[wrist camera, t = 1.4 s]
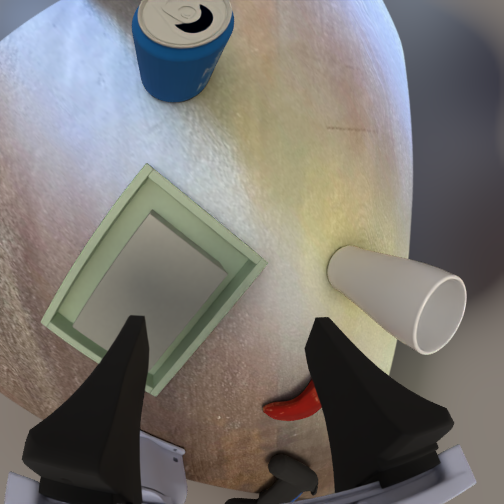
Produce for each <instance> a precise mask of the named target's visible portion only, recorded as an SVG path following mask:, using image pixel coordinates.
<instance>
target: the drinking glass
mask: <svg viewBox="0 0 504 504" xmlns="http://www.w3.org/2000/svg"><path fill="white" fill-rule="evenodd" d="M327 273H328V279H329V282H330V283H331V285H332V286H333V287H334V288H335V289H336V290H338V291H339V292H341V293H342V294H344V295H345V296H346V297H347V298H348V299H350V300H351V301H352V302H353V303H354V304H356V305H357V306H358V307H359V308H360V309H361V310H363V311H364V312H365V313H366V314H367V315H368V316H370V317H371V318H372V319H373V320H374V321H375V322H376V323H378V324H379V325H380V326H381V327H382V328H383V329H385V330H386V331H387V332H388V333H390V334H391V335H392V336H394V337H395V338H396V339H398V340H399V341H401V342H402V343H404V344H405V345H407V346H409V347H410V348H412V349H414V350H416V351H417V352H419V353H421V354H424V355H428V354H432V353H435V352H437V351H438V350H440V349H441V348H442V347H444V346H445V345H446V344H447V343H448V342H449V340H450V339H451V338H452V337H453V335H454V334H455V332H456V330H457V329H458V327H459V325H460V323H461V320H462V318H463V314H464V311H465V306H466V288H465V285H464V283H463V281H462V280H461V279H460V278H459V277H458V276H456V275H453V274H451V273H449V272H447V271H445V270H442V269H440V268H437V267H435V266H432V265H429V264H426V263H422V262H419V261H415V260H411V259H406V258H402V257H397V256H393V255H388V254H384V253H379V252H375V251H370V250H366V249H363V248H360V247H357V246H352V245H350V246H345V247H342V248H340V249H339V250H338V251H336V252H335V253H334V255H333V256H332V258H331V259H330V262H329V264H328V271H327Z"/></svg>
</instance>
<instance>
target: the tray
mask: <svg viewBox="0 0 504 504" xmlns="http://www.w3.org/2000/svg"><path fill="white" fill-rule="evenodd" d="M152 209H153V210H154V211H155V212H157V213H158V214H159V215H160V216H162V217H163V218H164V219H165V220H167V221H168V222H169V223H170V224H172V225H173V226H174V227H175V228H177V229H178V230H179V231H180V232H182V233H183V234H184V235H185V236H187V237H188V238H189V239H191V240H192V241H193V242H194V243H196V244H197V245H198V246H199V247H201V248H202V249H203V250H205V251H206V252H207V253H208V254H210V255H211V256H212V257H214V258H215V259H216V260H217V261H219V262H220V264H221V265H222V266H223V268H224V269H225V271H226V272H227V274H228V275H227V276H226V277H225V279H224V280H223V281H222V282H221V284H220V285H219V286H218V287H217V289H216V290H215V291H214V292H213V293H212V295H211V296H210V297H209V298H208V300H207V301H206V302H205V303H204V304H203V306H202V307H201V308H200V309H199V311H198V312H197V313H196V314H195V316H194V317H193V318H192V319H191V320H190V322H189V323H188V324H187V325H186V327H185V328H184V329H183V330H182V332H181V333H180V334H179V335H178V336H177V338H176V339H175V340H174V341H173V343H172V344H171V345H170V346H169V348H168V349H167V350H166V351H165V353H164V354H163V355H162V356H161V357H160V359H159V360H158V361H157V362H156V364H155V365H154V366H153V367H152V369H151V370H150V371H149V372H148V375H147V381H146V387H145V391H146V392H148V393H150V394H151V395H153V396H155V397H156V396H157V395H158V394H159V393H160V392H161V390H162V389H163V388H164V387H165V386H166V385H167V383H168V382H169V381H170V380H171V379H172V378H173V377H174V375H175V374H176V373H177V372H178V371H179V369H180V368H181V367H182V366H183V365H184V364H185V362H186V361H187V360H188V359H189V358H190V357H191V355H192V354H193V353H194V352H195V351H196V350H197V348H198V347H199V346H200V345H201V344H202V342H203V341H204V340H205V339H206V338H207V336H208V335H209V334H210V333H211V332H212V331H213V329H214V328H215V327H216V326H217V325H218V323H219V322H220V321H221V320H222V319H223V317H224V316H225V315H226V314H227V313H228V311H229V310H230V309H231V308H232V307H233V305H234V304H235V303H236V302H237V301H238V299H239V298H240V297H241V296H242V295H243V293H244V292H245V291H246V290H247V288H248V287H249V286H250V285H251V284H252V282H253V281H254V280H255V279H256V278H257V276H258V275H259V274H260V273H261V271H262V270H263V269H264V268H265V267H266V265H267V264H268V262H266V261H265V260H264V259H263V258H262V257H260V256H259V255H258V254H257V253H256V252H254V251H253V250H252V249H251V248H249V247H248V246H247V245H246V244H245V243H243V242H242V241H241V240H240V239H239V238H237V237H236V236H235V235H234V234H232V233H231V232H230V231H229V230H228V229H226V228H225V227H224V226H223V225H222V224H220V223H219V222H218V221H217V220H215V219H214V218H213V217H212V216H211V215H209V214H208V213H207V212H206V211H205V210H203V209H202V208H201V207H200V206H198V205H197V204H196V203H195V202H194V201H192V200H191V199H190V198H189V197H188V196H186V195H185V194H184V193H183V192H181V191H180V190H179V189H178V188H177V187H175V186H174V185H173V184H172V183H170V182H169V181H168V180H167V179H166V178H164V177H163V176H162V175H161V174H160V173H158V172H157V171H156V170H155V169H153V168H152V167H151V166H150V165H149V164H147V163H146V164H145V165H144V167H143V168H142V169H141V170H140V172H139V173H138V174H137V175H136V177H135V178H134V179H133V180H132V182H131V183H130V184H129V186H128V187H127V188H126V189H125V191H124V192H123V193H122V195H121V196H120V197H119V199H118V200H117V201H116V203H115V204H114V205H113V207H112V208H111V210H110V211H109V212H108V214H107V215H106V217H105V218H104V219H103V221H102V222H101V224H100V225H99V226H98V228H97V229H96V231H95V232H94V234H93V235H92V237H91V238H90V240H89V241H88V243H87V244H86V246H85V247H84V249H83V250H82V252H81V253H80V255H79V257H78V258H77V260H76V261H75V263H74V265H73V266H72V268H71V269H70V271H69V273H68V274H67V276H66V278H65V279H64V281H63V283H62V284H61V286H60V288H59V290H58V291H57V293H56V295H55V297H54V298H53V300H52V302H51V304H50V306H49V307H48V309H47V311H46V313H45V315H44V317H43V319H42V321H41V323H42V324H43V325H44V326H46V327H47V328H48V329H50V330H51V331H52V332H54V333H55V334H56V335H58V336H59V337H60V338H62V339H63V340H65V341H66V342H67V343H69V344H70V345H72V346H73V347H74V348H76V349H77V350H79V351H80V352H82V353H83V354H85V355H86V356H88V357H89V358H91V359H92V360H94V361H95V362H97V363H98V364H99V363H100V361H101V360H102V359H103V357H104V356H105V354H106V353H107V350H105V349H104V348H102V347H101V346H99V345H98V344H96V343H95V342H93V341H92V340H91V339H89V338H88V337H86V336H85V335H83V334H82V333H80V332H79V331H78V330H76V329H75V328H73V327H72V326H73V324H74V322H75V320H76V318H77V317H78V315H79V313H80V312H81V310H82V308H83V307H84V305H85V303H86V302H87V300H88V299H89V297H90V296H91V294H92V293H93V291H94V289H95V288H96V286H97V285H98V283H99V282H100V280H101V279H102V277H103V276H104V274H105V273H106V272H107V270H108V269H109V267H110V266H111V264H112V263H113V261H114V260H115V259H116V257H117V256H118V254H119V253H120V251H121V250H122V249H123V247H124V246H125V244H126V243H127V242H128V240H129V239H130V238H131V236H132V235H133V234H134V232H135V231H136V230H137V228H138V227H139V226H140V224H141V223H142V222H143V220H144V219H145V218H146V216H147V215H148V214H149V212H150V211H151V210H152Z"/></svg>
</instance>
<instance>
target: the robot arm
mask: <svg viewBox="0 0 504 504" xmlns="http://www.w3.org/2000/svg"><path fill="white" fill-rule="evenodd" d="M149 350H150V348H149V341H148V335H147V328H146V321H145V316H139V315H130V316H129V317H128V318H127V320H126V322H125V324H124V326H123V327H122V329H121V331H120V333H119V334H118V336H117V337H116V339H115V341H114V342H113V344H112V345H111V347H110V348H109V350H108V351H107V353H106V354H105V356H104V357H103V359H102V360H101V361H100V363H99V364H98V365H97V367H96V368H95V369H94V371H93V372H92V373H91V375H90V376H89V377H88V378H87V379H86V380H85V382H84V383H83V384H82V385H81V386H80V387H79V388H78V389H77V390H76V391H75V393H74V394H73V395H72V396H71V397H70V398H69V399H68V400H67V401H66V402H64V403H63V404H62V405H61V406H60V407H59V408H58V409H56V410H55V411H54V412H53V413H52V414H51V415H49V416H48V417H47V418H46V419H44V420H43V421H42V422H40V423H39V424H37V425H36V426H35V427H33V428H32V429H30V431H29V434H28V436H27V439H26V442H25V447H24V451H23V456H22V460H23V462H24V464H25V465H27V466H28V467H29V468H30V469H32V470H33V471H34V472H35V473H37V474H38V475H40V476H41V479H40V483H39V482H38V481H35V480H33V479H30V478H28V477H25V476H22V475H19V474H16V473H14V472H9V475H8V481H7V488H6V494H5V502H4V504H184V503H185V500H186V497H187V482H186V476H185V470H184V464H183V458H182V455H183V454H184V453H185V450H184V449H183V448H180V447H178V446H175V445H173V444H170V443H168V442H165V441H163V440H161V439H158V438H156V437H154V436H152V435H149V434H147V433H145V432H143V431H141V430H140V421H141V412H142V405H143V399H144V393H145V387H146V381H147V375H148V366H149ZM305 353H306V359H307V364H308V368H309V372H310V375H311V378H312V381H313V383H314V386H315V389H316V392H317V395H318V398H319V401H320V404H321V407H322V410H323V413H324V417H325V421H326V426H327V431H328V436H329V442H330V448H331V454H332V462H333V471H334V484H335V494H330V495H326V496H322V497H317V498H312V499H307V500H302V501H296V502H290V503H284V504H444V503H446V502H447V501H449V500H451V499H452V498H454V497H456V496H457V495H459V494H460V493H462V492H464V491H465V490H467V489H468V488H470V487H471V486H473V485H474V484H476V480H475V478H474V475H473V473H472V471H471V468H470V466H469V464H468V462H467V460H466V457H465V455H464V453H463V451H462V449H461V447H460V445H459V444H457V445H456V446H453V447H451V448H449V449H447V450H445V451H443V452H441V453H440V454H438V455H437V453H436V450H437V449H438V445H437V443H436V442H437V441H438V440H440V439H441V438H442V437H443V436H444V435H445V434H447V433H448V432H449V431H450V430H451V429H452V427H453V425H454V421H453V420H452V418H451V416H450V414H449V412H448V410H447V408H445V407H442V406H440V405H437V404H435V403H433V402H430V401H428V400H426V399H424V398H423V397H420V396H419V395H417V394H415V393H414V392H412V391H410V390H408V389H407V388H405V387H404V386H402V385H401V384H399V383H398V382H396V381H395V380H394V379H392V378H391V377H390V376H388V375H387V374H386V373H384V372H383V371H382V370H381V369H379V368H378V367H377V366H376V365H375V364H374V363H373V362H372V361H370V360H369V359H368V358H367V357H366V356H365V355H364V354H363V353H362V352H361V351H360V350H359V349H358V348H357V347H356V346H355V345H354V344H353V343H352V342H351V341H350V340H349V339H348V338H347V336H346V335H345V334H344V333H343V332H342V331H341V330H340V329H339V328H338V327H337V326H336V325H335V323H334V322H333V321H332V320H331V319H330V318H329V317H319V318H315V321H314V324H313V327H312V330H311V332H310V335H309V338H308V341H307V343H306V346H305Z"/></svg>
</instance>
